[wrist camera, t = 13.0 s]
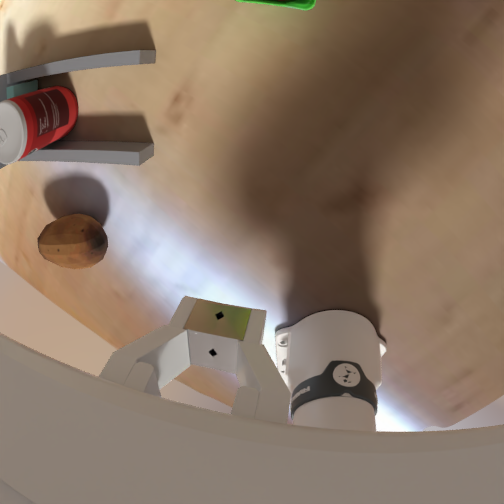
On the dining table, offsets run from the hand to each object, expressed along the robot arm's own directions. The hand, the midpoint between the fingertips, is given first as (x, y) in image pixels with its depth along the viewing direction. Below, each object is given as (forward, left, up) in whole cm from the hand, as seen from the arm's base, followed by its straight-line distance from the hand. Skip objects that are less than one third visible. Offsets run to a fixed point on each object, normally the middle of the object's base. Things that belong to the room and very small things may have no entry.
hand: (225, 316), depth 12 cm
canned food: (+2, +30, -28) cm, 41 cm away
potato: (-16, +27, -28) cm, 42 cm away
